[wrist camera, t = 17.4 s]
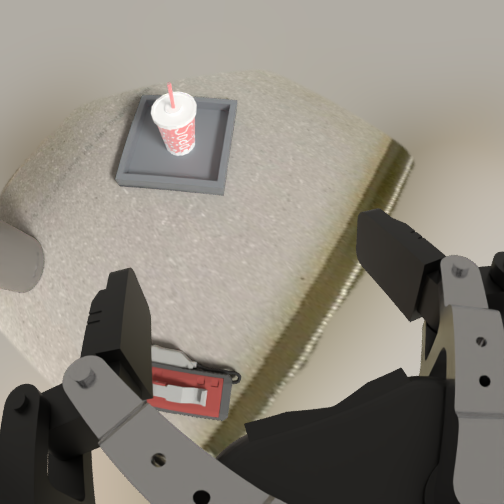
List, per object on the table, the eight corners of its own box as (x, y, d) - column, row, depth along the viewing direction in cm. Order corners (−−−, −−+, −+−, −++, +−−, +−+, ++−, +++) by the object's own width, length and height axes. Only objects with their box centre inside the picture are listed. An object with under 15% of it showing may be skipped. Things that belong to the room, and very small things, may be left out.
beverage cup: (163, 163, 45) (144, 107, 31) (159, 131, 46) (142, 72, 33) (203, 155, 46) (197, 96, 32) (196, 124, 47) (191, 62, 33)
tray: (119, 186, 44) (115, 179, 42) (144, 103, 48) (142, 95, 46) (223, 195, 45) (223, 188, 43) (236, 109, 49) (237, 100, 47)
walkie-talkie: (243, 358, 41) (102, 332, 40) (245, 362, 37) (90, 333, 36) (234, 418, 39) (97, 391, 38) (236, 428, 35) (84, 397, 34)
